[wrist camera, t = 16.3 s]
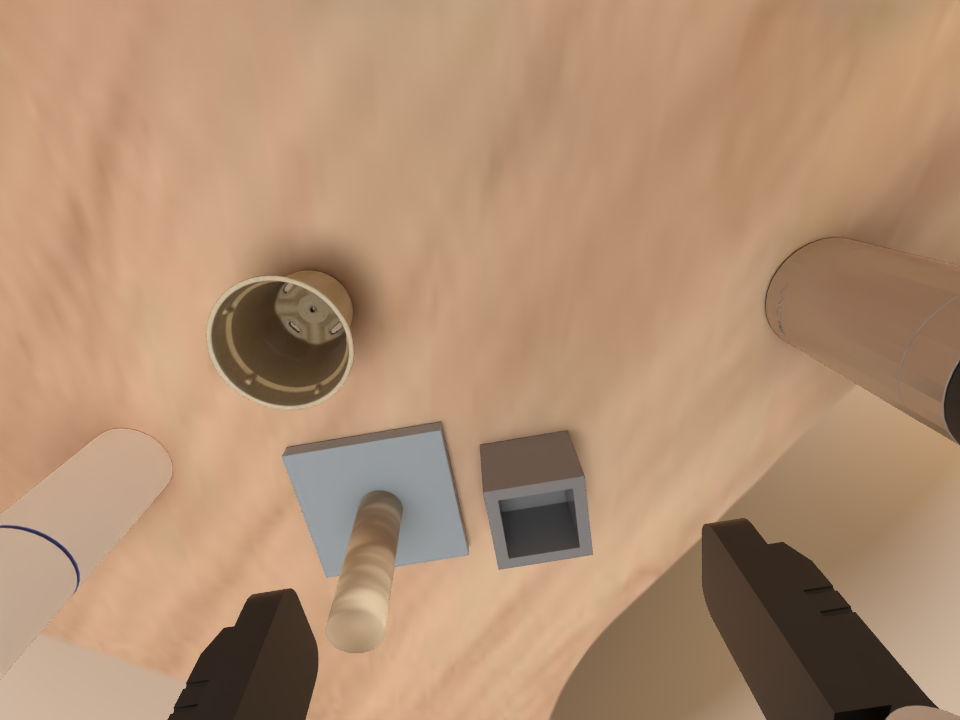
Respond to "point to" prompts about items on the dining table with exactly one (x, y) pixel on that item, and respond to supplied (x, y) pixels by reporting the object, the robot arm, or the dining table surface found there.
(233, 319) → the flower pot
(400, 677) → the dining table surface
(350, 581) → the dowel
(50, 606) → the cylindrical container
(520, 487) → the grey open box
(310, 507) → the board
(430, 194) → the dining table surface
